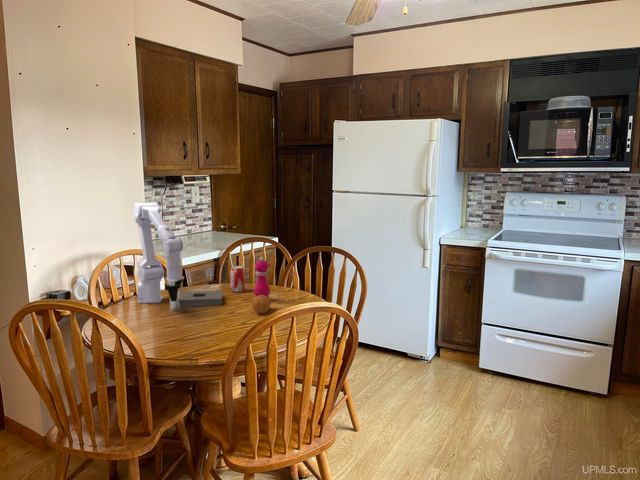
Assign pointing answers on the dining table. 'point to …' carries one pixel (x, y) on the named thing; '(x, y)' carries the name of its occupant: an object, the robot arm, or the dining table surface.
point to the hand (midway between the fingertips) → (175, 298)
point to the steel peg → (175, 303)
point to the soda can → (237, 278)
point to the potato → (261, 304)
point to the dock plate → (201, 298)
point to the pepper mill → (262, 278)
